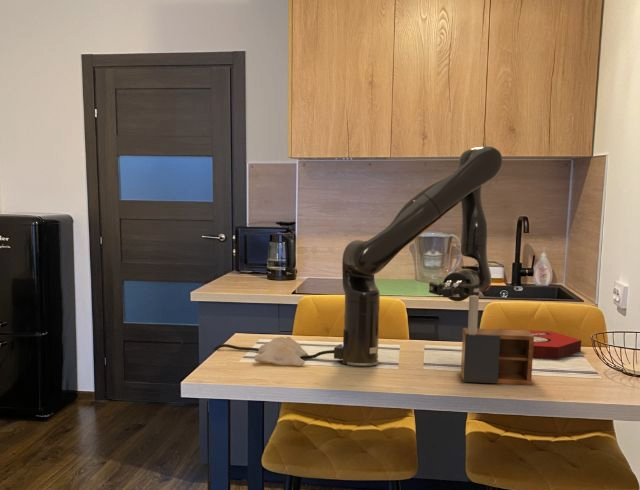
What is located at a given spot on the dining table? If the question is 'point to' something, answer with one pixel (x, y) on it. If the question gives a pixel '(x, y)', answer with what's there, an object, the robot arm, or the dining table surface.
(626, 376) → the dining table surface
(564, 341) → the plaque
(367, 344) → the robot arm
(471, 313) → the sliding door
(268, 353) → the arrowhead
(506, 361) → the cupboard
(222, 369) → the dining table surface
